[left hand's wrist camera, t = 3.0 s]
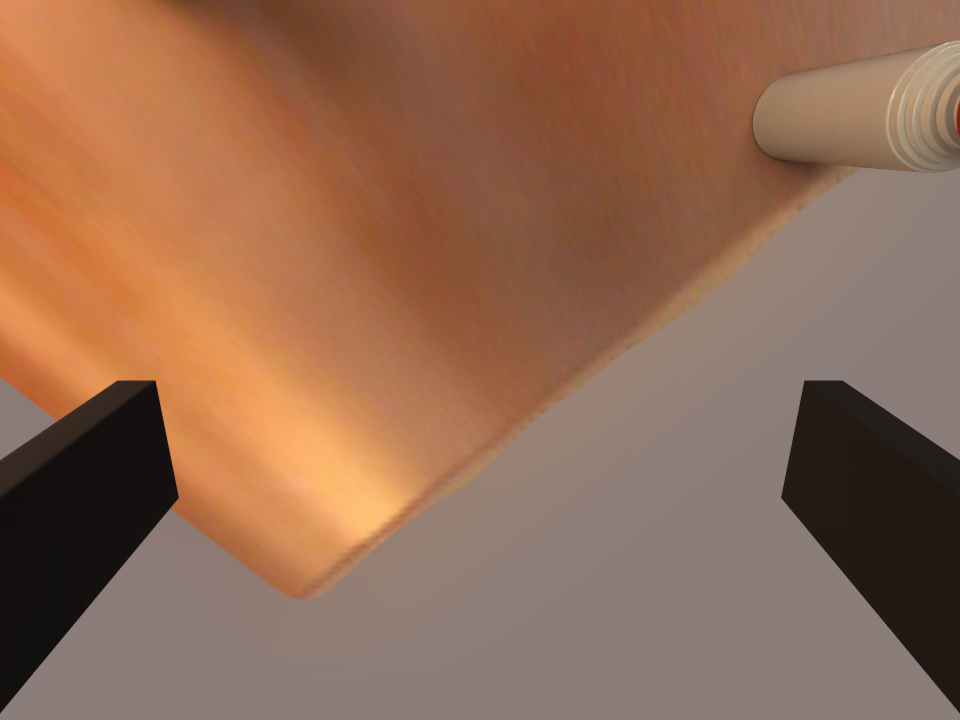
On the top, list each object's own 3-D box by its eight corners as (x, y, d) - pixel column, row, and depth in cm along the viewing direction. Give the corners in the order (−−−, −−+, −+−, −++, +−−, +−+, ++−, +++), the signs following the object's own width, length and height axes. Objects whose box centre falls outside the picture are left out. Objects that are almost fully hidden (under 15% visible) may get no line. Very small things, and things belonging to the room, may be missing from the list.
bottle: (794, 53, 35) (1074, -20, 19) (853, 106, 36) (1169, 83, 20) (734, 127, 37) (945, 121, 20) (793, 177, 38) (1040, 210, 21)
